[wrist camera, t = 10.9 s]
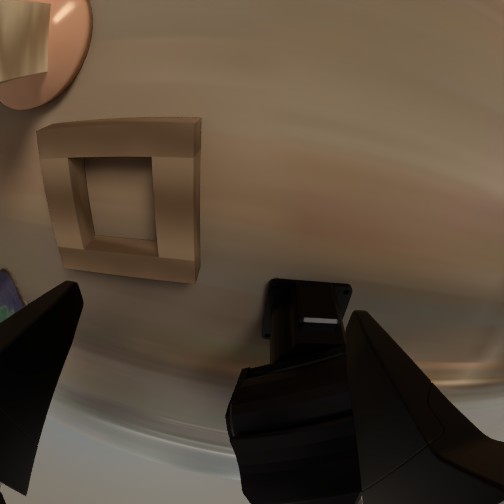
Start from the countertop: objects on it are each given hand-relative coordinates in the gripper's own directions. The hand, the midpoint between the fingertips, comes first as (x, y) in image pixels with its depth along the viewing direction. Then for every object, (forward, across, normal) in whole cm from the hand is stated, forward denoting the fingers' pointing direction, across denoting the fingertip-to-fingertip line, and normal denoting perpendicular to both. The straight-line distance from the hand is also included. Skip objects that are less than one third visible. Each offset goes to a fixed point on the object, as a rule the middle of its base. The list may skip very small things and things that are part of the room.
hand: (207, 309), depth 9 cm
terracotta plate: (+12, +15, -10) cm, 22 cm away
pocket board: (+12, +8, +2) cm, 15 cm away
